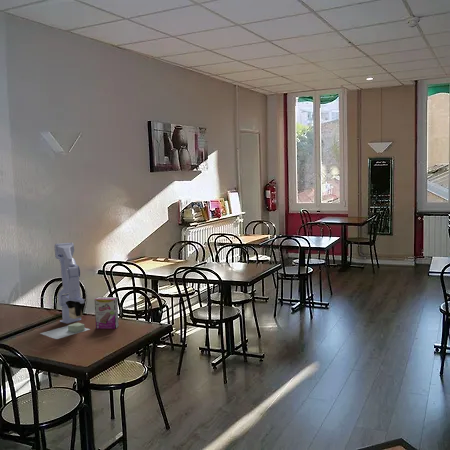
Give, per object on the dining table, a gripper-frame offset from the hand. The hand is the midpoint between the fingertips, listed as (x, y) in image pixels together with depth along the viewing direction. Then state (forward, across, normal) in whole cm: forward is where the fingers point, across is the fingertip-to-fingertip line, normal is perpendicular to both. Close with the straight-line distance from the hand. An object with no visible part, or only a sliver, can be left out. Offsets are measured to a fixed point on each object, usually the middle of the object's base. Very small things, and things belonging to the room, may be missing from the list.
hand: (75, 315), depth 275 cm
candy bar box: (+9, +9, +13) cm, 18 cm away
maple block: (+1, 0, 0) cm, 1 cm away
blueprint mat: (+9, -4, -4) cm, 10 cm away
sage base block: (+8, 0, 0) cm, 8 cm away
